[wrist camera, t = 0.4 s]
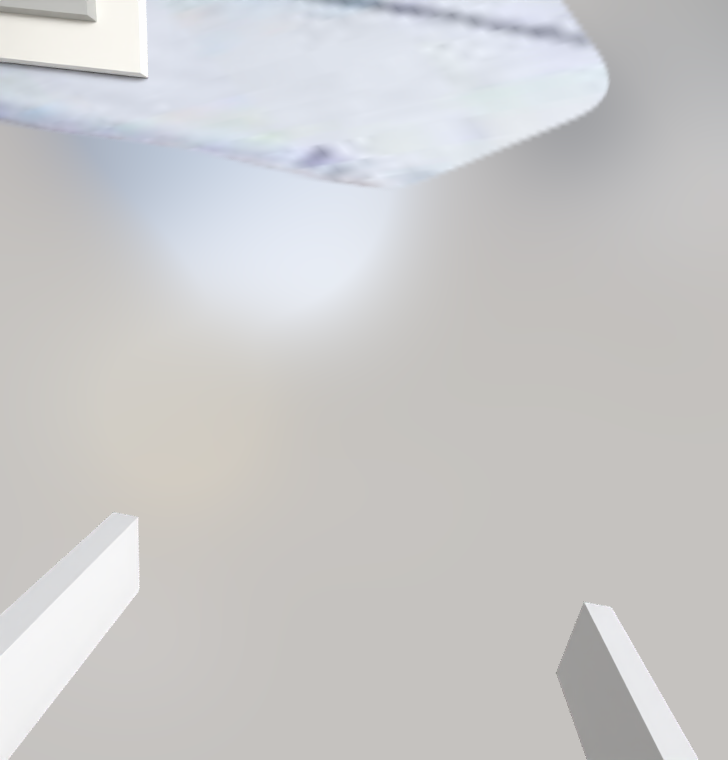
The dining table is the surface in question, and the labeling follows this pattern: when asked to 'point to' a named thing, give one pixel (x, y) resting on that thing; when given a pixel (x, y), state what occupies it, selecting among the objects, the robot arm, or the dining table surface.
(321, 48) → the dining table surface
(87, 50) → the slot plate
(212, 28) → the dining table surface
